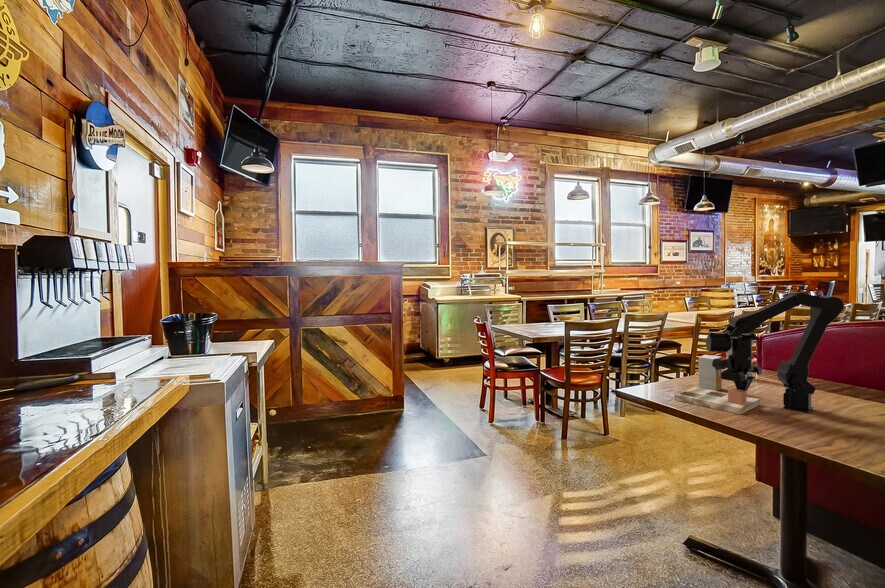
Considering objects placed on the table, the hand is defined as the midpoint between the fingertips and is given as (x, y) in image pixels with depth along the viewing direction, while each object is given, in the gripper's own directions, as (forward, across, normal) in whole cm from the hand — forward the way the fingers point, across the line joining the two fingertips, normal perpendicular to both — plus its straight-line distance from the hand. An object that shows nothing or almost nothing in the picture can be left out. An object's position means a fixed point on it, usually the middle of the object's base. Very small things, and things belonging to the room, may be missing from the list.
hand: (741, 396), depth 149 cm
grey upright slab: (+4, -43, -17) cm, 46 cm away
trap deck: (+3, +2, -7) cm, 8 cm away
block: (+1, +4, 0) cm, 4 cm away
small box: (+4, -14, -16) cm, 22 cm away
